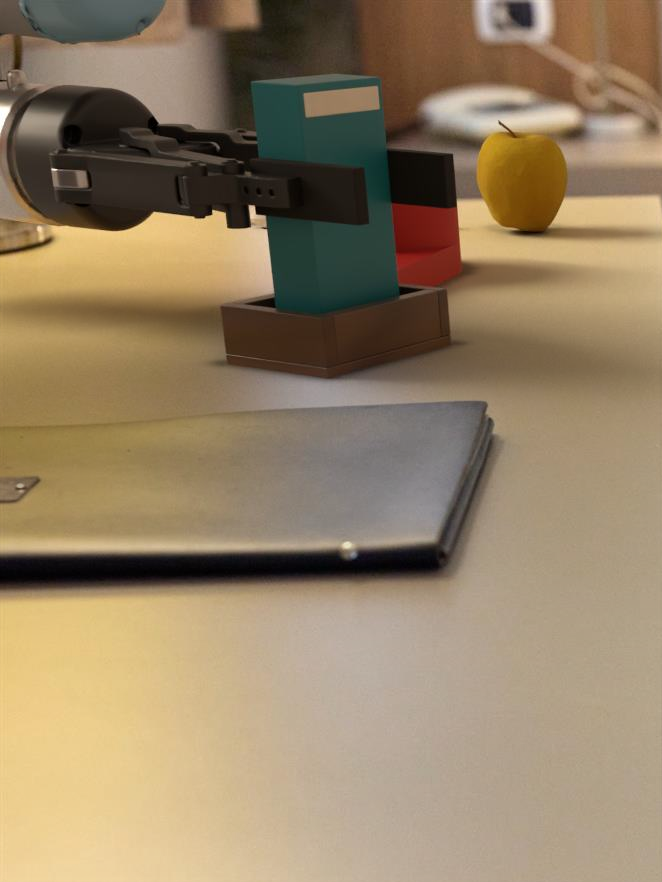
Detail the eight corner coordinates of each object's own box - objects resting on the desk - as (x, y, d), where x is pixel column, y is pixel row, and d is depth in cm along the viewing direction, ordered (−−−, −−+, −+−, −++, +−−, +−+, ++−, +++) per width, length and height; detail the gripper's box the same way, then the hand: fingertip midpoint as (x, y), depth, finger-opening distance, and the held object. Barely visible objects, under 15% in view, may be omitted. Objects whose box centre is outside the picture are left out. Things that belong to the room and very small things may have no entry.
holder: (328, 383, 98) (322, 318, 96) (227, 369, 100) (219, 304, 99) (452, 349, 106) (447, 288, 105) (355, 336, 108) (350, 276, 107)
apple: (462, 230, 144) (454, 118, 141) (535, 222, 148) (529, 114, 145) (513, 241, 140) (506, 126, 137) (586, 233, 144) (581, 121, 141)
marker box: (323, 330, 99) (298, 84, 95) (276, 324, 100) (248, 81, 96) (402, 310, 104) (381, 76, 100) (356, 305, 105) (334, 73, 101)
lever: (320, 263, 129) (310, 160, 127) (467, 262, 131) (459, 161, 128) (277, 316, 113) (264, 199, 110) (445, 314, 114) (436, 199, 112)
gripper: (-101, 97, 97) (261, 127, 88) (189, 73, 113) (518, 97, 104) (-75, 249, 99) (279, 293, 91) (205, 204, 116) (527, 238, 107)
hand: (406, 188), depth 98 cm, fingers closed on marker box, 6 cm apart
